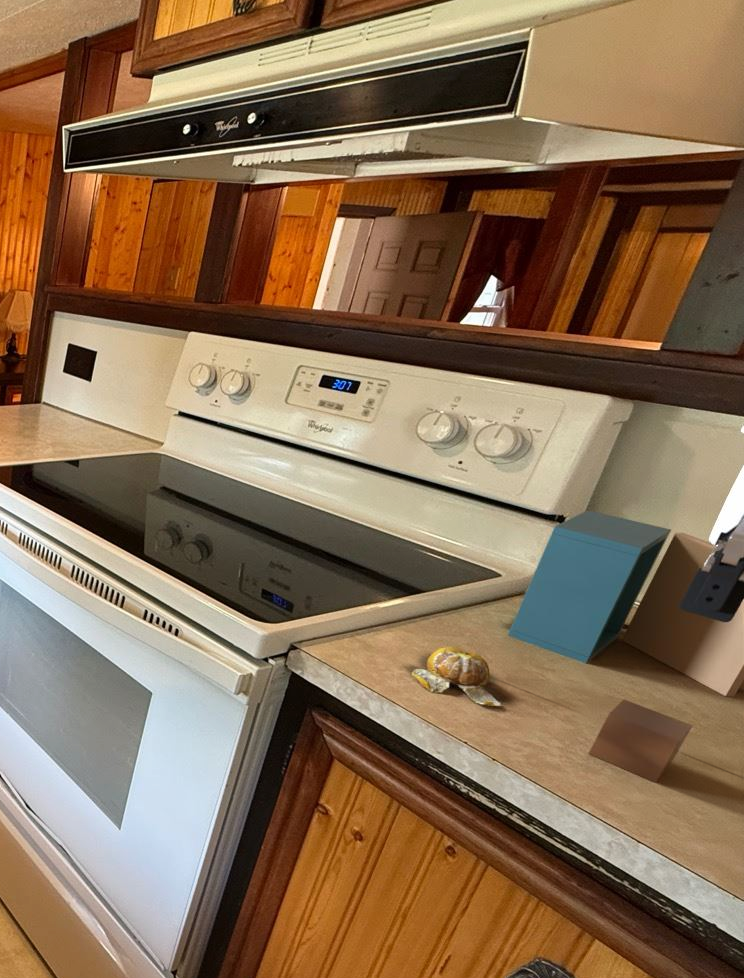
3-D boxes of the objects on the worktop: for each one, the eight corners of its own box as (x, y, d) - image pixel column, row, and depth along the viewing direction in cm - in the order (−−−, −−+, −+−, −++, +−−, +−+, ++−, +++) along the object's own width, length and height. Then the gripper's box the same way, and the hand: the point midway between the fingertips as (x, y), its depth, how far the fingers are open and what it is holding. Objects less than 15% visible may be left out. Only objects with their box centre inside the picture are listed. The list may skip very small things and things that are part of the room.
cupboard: (616, 638, 98) (671, 529, 92) (585, 664, 91) (642, 548, 85) (541, 613, 104) (587, 510, 98) (507, 636, 98) (554, 526, 92)
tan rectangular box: (679, 643, 97) (737, 535, 91) (792, 700, 85) (867, 580, 79) (621, 640, 97) (675, 532, 92) (725, 696, 85) (795, 576, 80)
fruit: (411, 685, 85) (421, 658, 84) (411, 656, 92) (421, 631, 90) (501, 712, 81) (514, 684, 80) (495, 680, 87) (507, 654, 86)
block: (669, 765, 73) (693, 725, 71) (656, 783, 71) (679, 741, 69) (603, 738, 77) (623, 699, 75) (588, 753, 75) (608, 713, 73)
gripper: (876, 445, 54) (758, 644, 60) (899, 425, 63) (794, 600, 69) (727, 423, 60) (634, 606, 66) (767, 407, 69) (681, 571, 75)
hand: (715, 603), depth 68 cm, fingers open, 9 cm apart
